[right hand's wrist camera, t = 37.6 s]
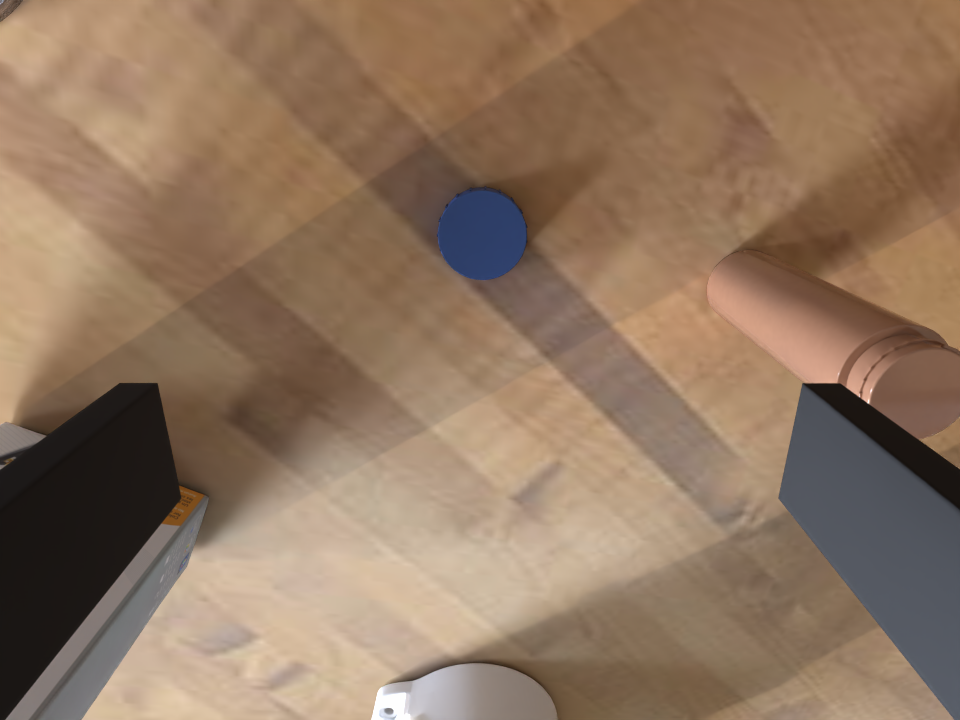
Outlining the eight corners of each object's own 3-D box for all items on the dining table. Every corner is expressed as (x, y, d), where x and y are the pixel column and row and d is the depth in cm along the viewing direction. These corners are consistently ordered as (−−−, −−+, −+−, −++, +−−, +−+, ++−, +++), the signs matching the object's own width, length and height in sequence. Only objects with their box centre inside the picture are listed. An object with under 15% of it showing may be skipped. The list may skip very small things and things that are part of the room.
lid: (544, 233, 39) (547, 238, 37) (480, 291, 40) (480, 299, 39) (484, 166, 38) (484, 169, 36) (420, 229, 39) (417, 234, 37)
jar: (757, 329, 41) (936, 463, 25) (693, 306, 41) (835, 428, 25) (793, 264, 40) (1010, 361, 24) (728, 239, 39) (904, 321, 23)
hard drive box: (213, 492, 46) (33, 743, 27) (188, 566, 48) (7, 842, 30) (2, 416, 44) (-353, 633, 25) (-14, 498, 46) (-345, 751, 28)
